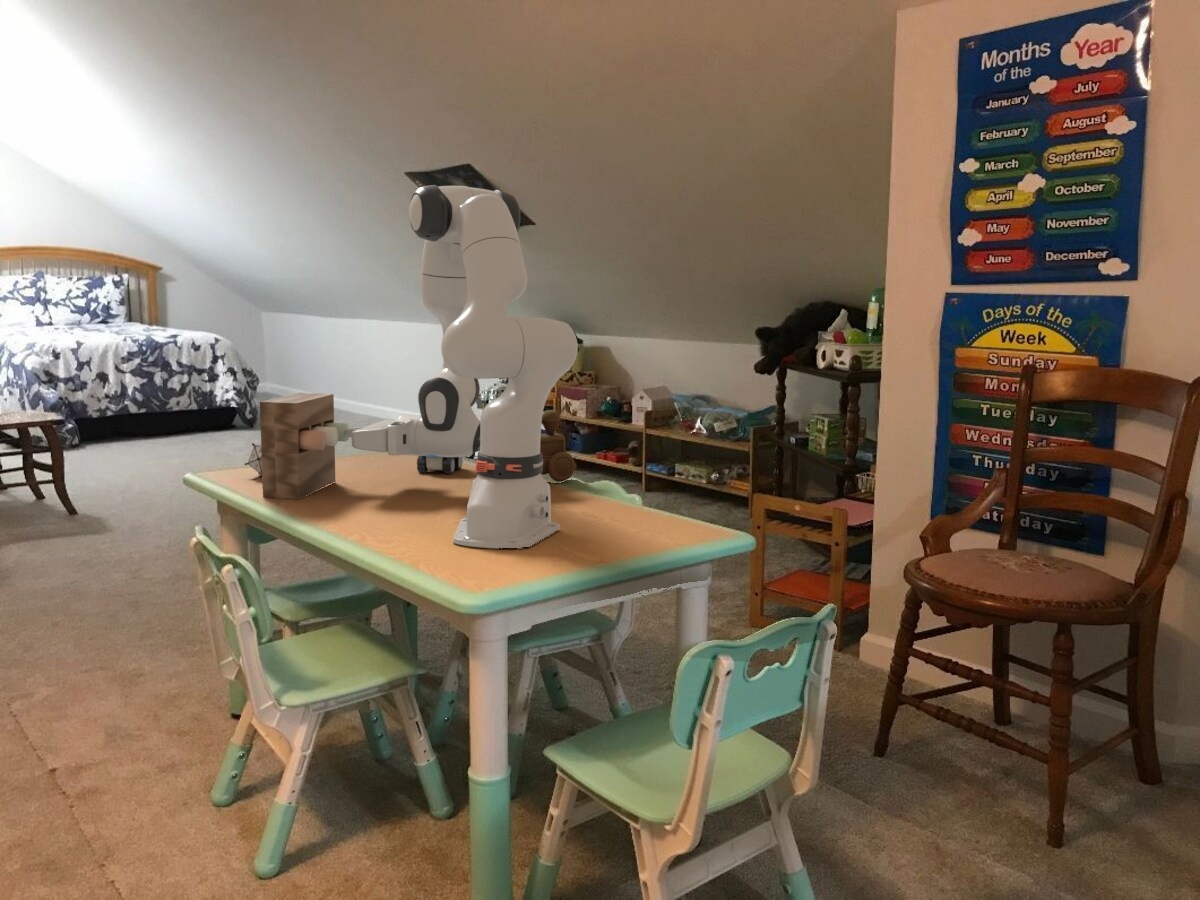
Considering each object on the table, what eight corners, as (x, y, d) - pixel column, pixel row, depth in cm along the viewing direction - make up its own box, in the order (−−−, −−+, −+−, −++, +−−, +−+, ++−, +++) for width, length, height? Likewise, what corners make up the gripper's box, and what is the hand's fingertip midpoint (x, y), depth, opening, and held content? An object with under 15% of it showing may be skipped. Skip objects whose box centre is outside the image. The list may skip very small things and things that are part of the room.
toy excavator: (471, 463, 248) (471, 396, 245) (449, 476, 232) (449, 403, 229) (438, 462, 249) (438, 394, 246) (415, 474, 233) (414, 402, 230)
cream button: (338, 444, 212) (338, 426, 211) (330, 447, 208) (330, 428, 207) (312, 443, 212) (311, 424, 212) (303, 445, 209) (303, 427, 208)
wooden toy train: (501, 490, 217) (499, 416, 214) (481, 481, 227) (479, 409, 224) (580, 480, 227) (580, 409, 224) (557, 471, 237) (557, 403, 233)
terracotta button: (326, 448, 206) (326, 429, 205) (318, 451, 202) (317, 432, 201) (299, 447, 207) (299, 428, 206) (290, 450, 203) (290, 431, 202)
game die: (267, 490, 229) (277, 452, 233) (288, 481, 224) (298, 443, 228) (233, 475, 223) (244, 436, 227) (254, 466, 218) (265, 427, 222)
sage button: (349, 440, 217) (349, 422, 217) (342, 442, 213) (341, 424, 213) (324, 438, 218) (323, 421, 218) (316, 441, 214) (315, 423, 214)
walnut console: (335, 482, 221) (333, 394, 217) (299, 499, 203) (296, 403, 200) (301, 480, 222) (299, 392, 218) (263, 497, 204) (259, 401, 201)
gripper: (424, 414, 223) (366, 411, 225) (392, 427, 203) (328, 423, 205) (424, 441, 224) (367, 438, 226) (392, 457, 204) (329, 453, 206)
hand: (348, 431), depth 215 cm, fingers closed
